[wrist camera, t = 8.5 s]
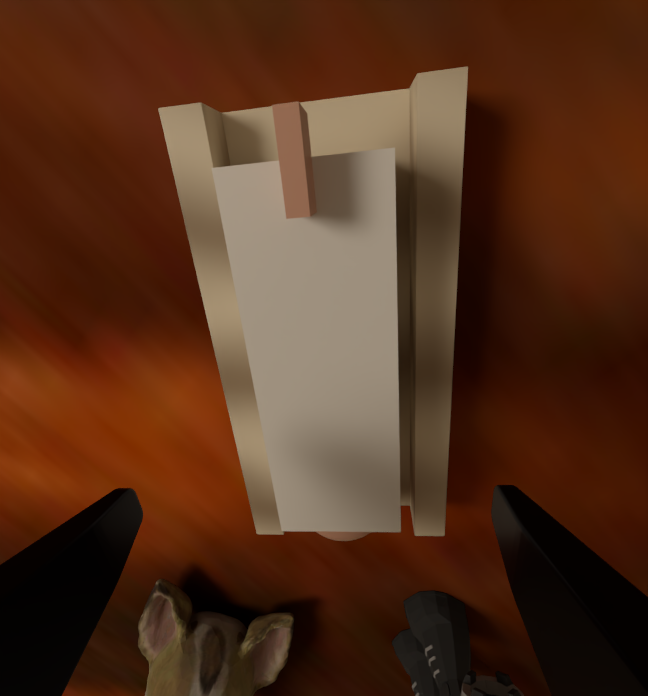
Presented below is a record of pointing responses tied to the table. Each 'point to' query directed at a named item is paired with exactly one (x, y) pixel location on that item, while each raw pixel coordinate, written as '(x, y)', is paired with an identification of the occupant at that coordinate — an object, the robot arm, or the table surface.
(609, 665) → the robot arm
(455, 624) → the robot
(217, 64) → the table surface
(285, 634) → the ceramic sculpture
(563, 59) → the table surface
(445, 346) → the cradle
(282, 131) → the white bar with tab
